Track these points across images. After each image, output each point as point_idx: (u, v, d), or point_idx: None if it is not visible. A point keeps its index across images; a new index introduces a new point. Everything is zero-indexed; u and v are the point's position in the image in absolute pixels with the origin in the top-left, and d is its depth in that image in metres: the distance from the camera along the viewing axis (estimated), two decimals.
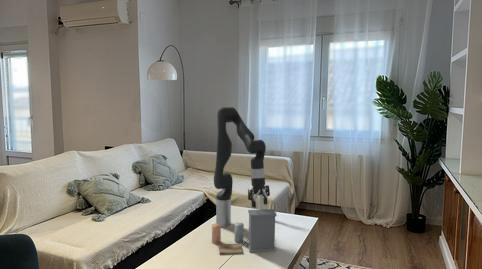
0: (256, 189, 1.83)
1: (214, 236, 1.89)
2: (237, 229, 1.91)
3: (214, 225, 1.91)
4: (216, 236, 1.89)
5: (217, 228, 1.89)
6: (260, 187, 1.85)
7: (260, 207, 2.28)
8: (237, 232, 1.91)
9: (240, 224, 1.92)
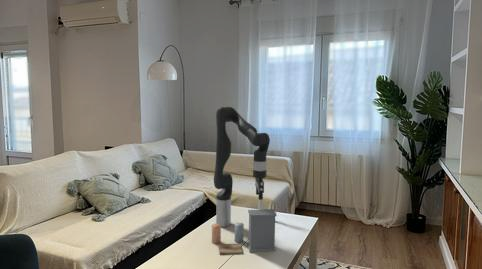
0: None
1: (214, 236, 1.89)
2: (237, 229, 1.91)
3: (214, 225, 1.91)
4: (216, 236, 1.89)
5: (217, 228, 1.89)
6: None
7: (260, 207, 2.28)
8: (237, 232, 1.91)
9: (240, 224, 1.92)
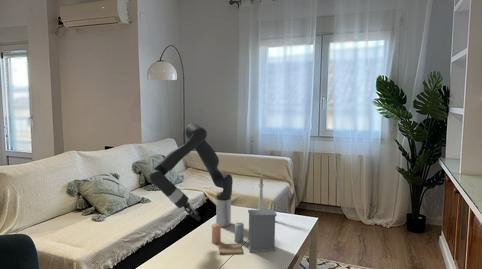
0: None
1: (214, 236, 1.89)
2: (237, 229, 1.91)
3: (214, 225, 1.91)
4: (216, 236, 1.89)
5: (217, 228, 1.89)
6: None
7: (260, 207, 2.28)
8: (237, 232, 1.91)
9: (240, 224, 1.92)
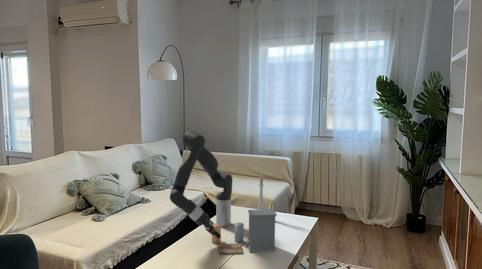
0: None
1: (214, 236, 1.89)
2: (237, 229, 1.91)
3: (214, 225, 1.91)
4: None
5: (217, 228, 1.89)
6: None
7: (260, 207, 2.28)
8: (237, 232, 1.91)
9: (240, 224, 1.92)
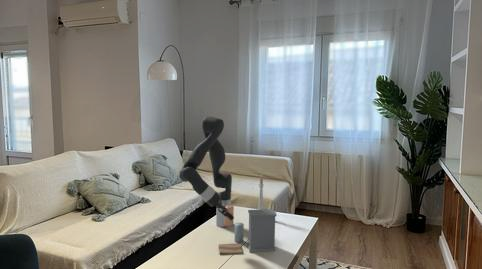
0: None
1: (227, 218, 1.79)
2: (237, 229, 1.91)
3: (227, 206, 1.80)
4: None
5: (230, 209, 1.78)
6: None
7: (260, 207, 2.28)
8: (237, 232, 1.91)
9: (240, 224, 1.92)
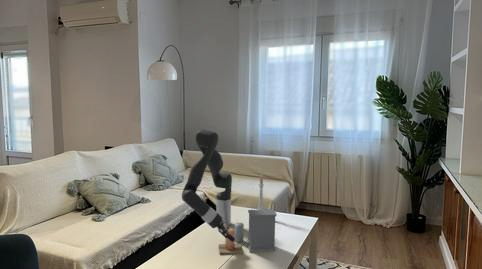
0: None
1: (228, 242, 1.80)
2: (237, 229, 1.91)
3: (228, 230, 1.81)
4: (230, 242, 1.80)
5: (231, 233, 1.80)
6: None
7: (260, 207, 2.28)
8: (237, 232, 1.91)
9: (240, 224, 1.92)
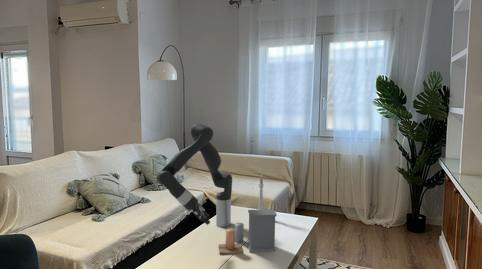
0: None
1: (228, 241, 1.80)
2: (237, 229, 1.91)
3: (228, 230, 1.82)
4: (230, 242, 1.80)
5: (231, 233, 1.80)
6: None
7: (260, 207, 2.28)
8: (237, 232, 1.91)
9: (240, 224, 1.92)
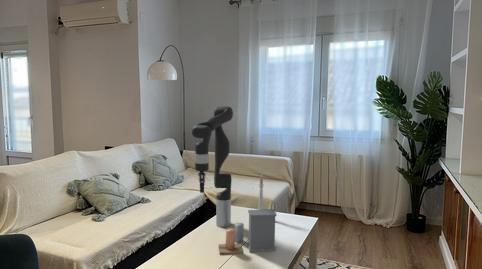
0: None
1: (228, 241, 1.80)
2: (237, 229, 1.91)
3: (228, 230, 1.82)
4: (230, 242, 1.80)
5: (231, 233, 1.80)
6: None
7: (260, 207, 2.28)
8: (237, 232, 1.91)
9: (240, 224, 1.92)
